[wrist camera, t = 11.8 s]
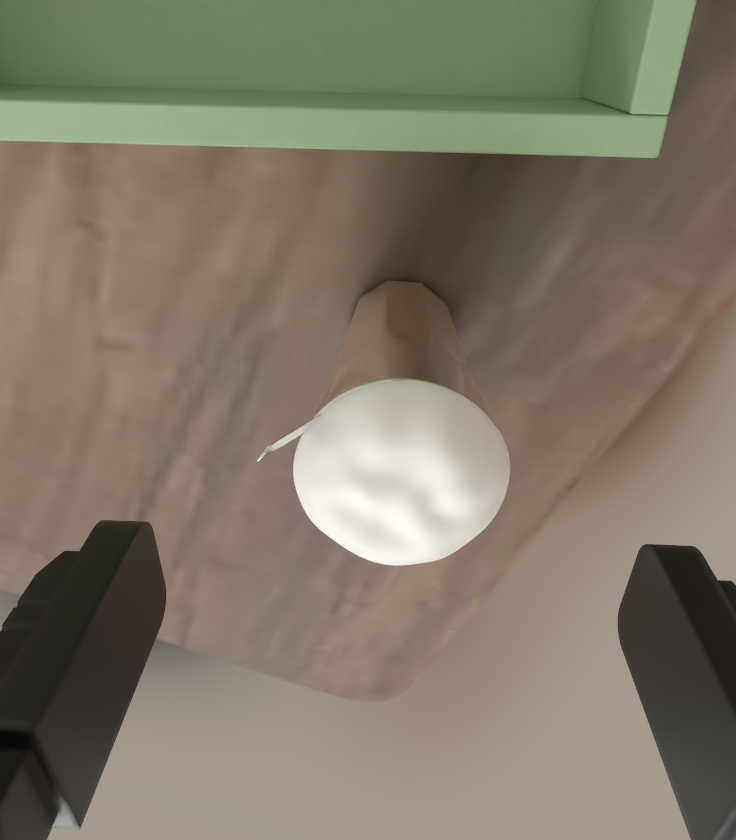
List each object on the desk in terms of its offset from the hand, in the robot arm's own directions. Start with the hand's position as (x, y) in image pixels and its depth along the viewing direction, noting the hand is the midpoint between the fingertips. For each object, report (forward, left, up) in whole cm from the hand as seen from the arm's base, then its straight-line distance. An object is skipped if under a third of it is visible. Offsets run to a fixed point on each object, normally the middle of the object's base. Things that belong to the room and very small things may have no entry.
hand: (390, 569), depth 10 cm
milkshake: (0, 0, -11) cm, 11 cm away
